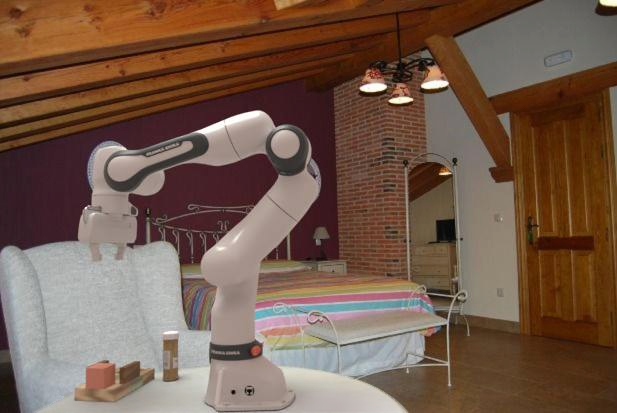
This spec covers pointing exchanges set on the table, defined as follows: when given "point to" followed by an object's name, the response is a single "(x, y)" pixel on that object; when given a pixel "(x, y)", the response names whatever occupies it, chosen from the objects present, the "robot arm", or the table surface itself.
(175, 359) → the sprinkles bottle
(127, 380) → the wooden block stand
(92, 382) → the brick-red block
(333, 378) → the table surface
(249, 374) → the robot arm
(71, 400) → the table surface
